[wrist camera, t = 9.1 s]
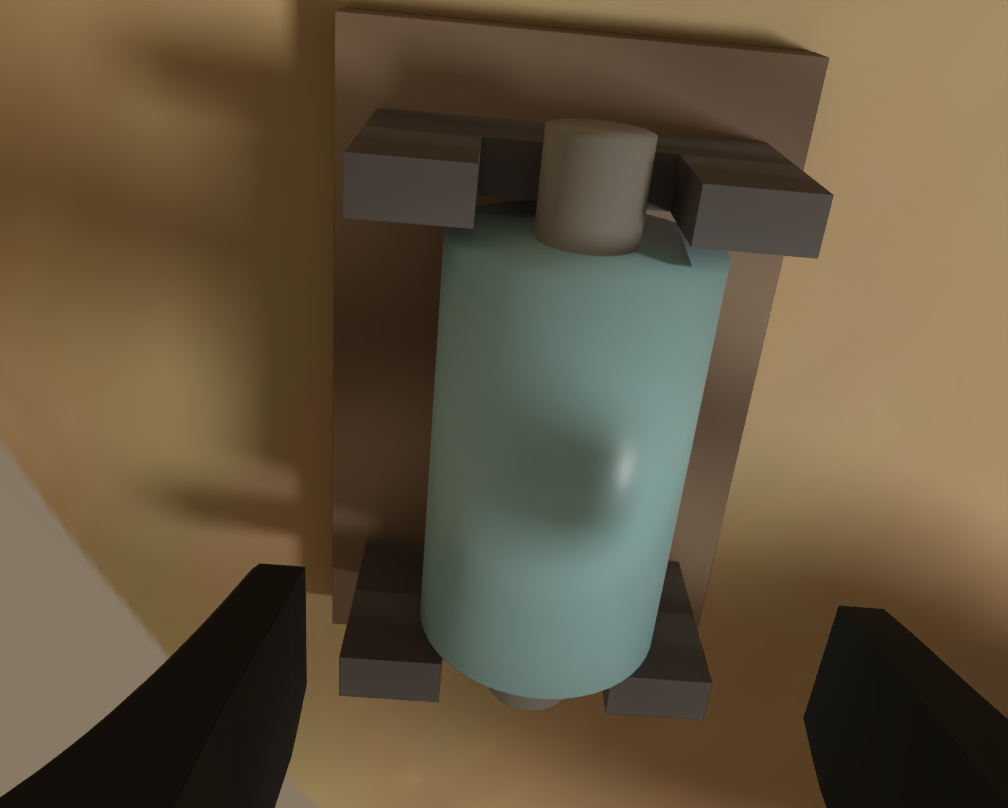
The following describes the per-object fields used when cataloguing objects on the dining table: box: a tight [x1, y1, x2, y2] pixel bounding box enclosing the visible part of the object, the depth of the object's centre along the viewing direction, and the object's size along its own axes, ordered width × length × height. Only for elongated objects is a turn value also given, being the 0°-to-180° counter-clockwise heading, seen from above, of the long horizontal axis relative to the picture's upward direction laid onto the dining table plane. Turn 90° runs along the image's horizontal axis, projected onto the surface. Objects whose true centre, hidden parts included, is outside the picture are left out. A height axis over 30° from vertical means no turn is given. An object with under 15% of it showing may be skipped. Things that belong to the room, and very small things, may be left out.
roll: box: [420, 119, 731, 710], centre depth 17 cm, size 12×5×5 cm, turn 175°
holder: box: [333, 8, 834, 720], centre depth 19 cm, size 14×9×5 cm, turn 175°
